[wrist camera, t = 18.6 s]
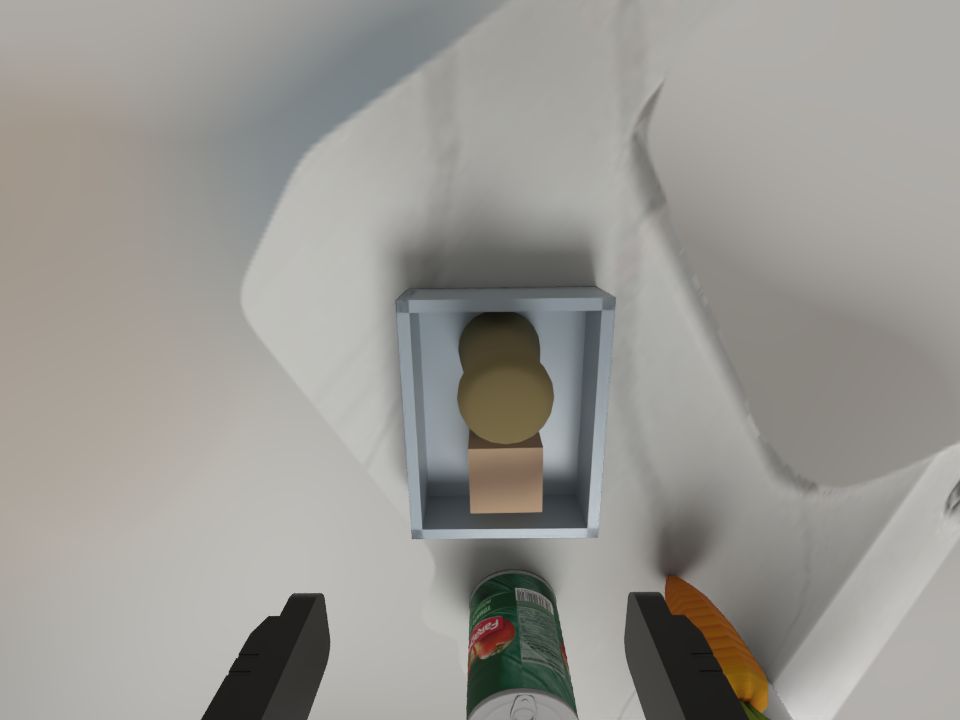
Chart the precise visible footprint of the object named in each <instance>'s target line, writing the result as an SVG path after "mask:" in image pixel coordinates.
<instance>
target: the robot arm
mask: <svg viewBox="0 0 960 720" xmlns="http://www.w3.org/2000/svg"><path fill="white" fill-rule="evenodd" d="M624 644H625V653H626V659H627V663H628V667H629V670H630V673H631V676H632V679H633V682H634V685H635V688H636V691H637V694H638V697H639V700H640V703H641V706H642V709H643V712H644V715H645V718H646V720H750V719H749V718H748V716H747V714H746V712H745V710H744V708H743V707H742V705H741V703H740V701H739V699H738V697H737V695H736V694H735V692H734V690H733V688H732V686H731V684H730V683H729V681H728V679H727V677H726V675H724V674H723V670H722V668H721V666H720V664H719V662H718V660H717V659H716V657H714V654H713V651H712V649H711V648H710V646H709V644H708V642H707V640H706V638H705V636H704V635H703V633H702V632H701V631H700V630H699V629H698V628H697V627H696V626H695V625H694V624H693V623H692V622H691V621H690V620H689V619H688V618H687V617H686V616H685V615H672V614H671V612H670V610H669V608H668V606H667V604H666V602H665V600H664V598H663V596H662V594H661V593H659V592H630V593H629V596H628V604H627V615H626V626H625V636H624ZM329 651H330V634H329V628H328V620H327V613H326V605H325V598H324V595H323V594H322V593H297V594H296V593H294V594H292V595H291V596H290V598H289V599H288V601H287V603H286V605H285V607H284V609H283V611H282V612H281V615H280V616H268V617H267V618H266V619H265V620H264V621H263V622H262V623H261V624H260V625H259V626H258V627H257V628H256V629H255V630H254V631H253V632H252V633H251V634H250V636H249V637H248V639H247V641H246V642H245V644H244V646H243V648H242V649H241V651H240V653H239V657H238V658H236V660H235V661H234V663H233V665H232V667H231V668H230V670H229V674H228V676H226V677H225V679H224V681H223V682H222V684H221V686H220V688H219V689H218V691H217V693H216V695H215V696H214V698H213V700H212V701H211V703H210V705H209V707H208V709H207V710H206V712H205V714H204V715H203V717H202V719H201V720H307V719H308V716H309V713H310V710H311V707H312V705H313V702H314V699H315V696H316V693H317V691H318V688H319V685H320V682H321V680H322V677H323V674H324V671H325V668H326V665H327V661H328V657H329ZM767 681H768V680H767ZM762 714H763V715H764V716H766V717H767V718H769V719H771V720H793V719H792V717H791V716H790V714H789V712H788V711H787V709H786V708H785V706H784V704H783V703H782V701H781V700H780V698H779V696H778V695H777V693H776V692H775V690H774V688H773V687H772V685H771V684H770V682H769V681H768V705H767V708H766V709H765V710H764V711H763V712H762Z"/></svg>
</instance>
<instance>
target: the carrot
mask: <svg viewBox="0 0 960 720" xmlns="http://www.w3.org/2000/svg"><path fill="white" fill-rule="evenodd" d="M665 602H666V604H667V606H668V608H669V610H670V612H671V614H672V615H685V616H686V617H687V618H688V619H689V620H690V621H691V622H692V623H693V624H694V625H695V626H696V627H697V628H698V629H699V630H700V631H701V632H702V633H703V635H704V636H705V638H706V640H707V642H708V644H709V646H710V648H711V649H712V651H713V654H714V657H716V659H717V660H718V662H719V664H720V666H721V668H722V670H723V674H724V675H726V677H727V679H728V681H729V683H730V684H731V686H732V688H733V690H734V692H735V694H736V695H737V697H738V699H739V701H740V703H741V705H742V707H743V708H744V710H745V712H746V714H747V716H748V718H749V719H750V720H771V719H769V718H767V717H766V716H764V715H763V714H762V712H763V711H764V710H765V709H766V708H767V705H768V681H767V678H766V676H765V674H764V672H763V670H762V669H761V667H760V666H759V664H758V663H757V661H756V660H755V658H754V657H753V655H752V654H751V652H750V651H749V649H748V647H747V646H746V645H745V643H744V642H743V640H742V639H741V637H740V636H739V635H738V633H737V632H736V630H735V629H734V627H733V626H732V625H731V623H730V622H729V621H728V620H727V619H726V618H725V617H724V615H723V614H722V613H721V612H720V611H719V610H718V609H717V608H716V606H715V605H714V604H713V603H712V602H711V601H710V600H709V599H708V598H707V597H706V596H705V595H704V594H702V593H701V592H700V591H699V590H697V589H696V588H695V587H693V586H692V585H690V584H689V583H687V582H686V581H684V580H682V579H681V578H679V577H677V576H676V575H670V576H669V577H668V578H667V579H666V585H665Z"/></svg>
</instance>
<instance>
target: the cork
mask: <svg viewBox="0 0 960 720" xmlns="http://www.w3.org/2000/svg"><path fill="white" fill-rule="evenodd" d="M458 352H459V357H460V362H461V365H462V369H463V372H464V373H463V375H462V377H461V379H460V381H459V386H458V394H457V402H458V406H459V411H460V414H461V416H462V417H463V419H464V421H465V422H466V424H467V426H468V428H470V429H471V430H472V431H473V432H474V433H475V434H476V435H478V436H479V437H481V438H483V439H485V440H487V441H490V442H492V443H500V444H511V443H518V442H522V441H524V440H526V439H528V438H530V437H532V436H534V435H535V434H536V433H537V432H538V431H539V430H540V429H542V428H543V427H544V425H545V424H546V422H547V420H548V418H549V417H550V415H551V411H552V406H553V402H554V390H553V383H552V381H551V379H550V377H549V375H548V373H547V371H546V369H545V367H544V366H543V365H542V364H541V363H540V343H539V336H538V334H537V332H536V330H535V329H534V327H533V325H532V324H531V323H530V322H529V321H528V320H527V319H526V318H525V317H524V316H522V315H520V314H518V313H516V312H484V313H482V314H480V315H478V316H476V317H474V318H473V319H472V320H471V321H470V322H469V323H468V324H467V325H466V326H465V328H464V330H463V332H462V335H461V337H460V340H459V348H458Z"/></svg>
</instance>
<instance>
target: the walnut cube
mask: <svg viewBox="0 0 960 720" xmlns="http://www.w3.org/2000/svg"><path fill="white" fill-rule="evenodd" d="M468 460H469V487H470V514H471V513H525V512H542V496H543V445H542V441H541V437H540V433H539V431H538V432H537V433H536V434H535V435H534V436H532V437H530V438H528V439H526V440H524V441H522V442H518V443H511V444H500V443H492V442H490V441H487V440H485V439H483V438H481V437H479V436H478V435H476V434H475V433H474V432H473V431H472V430H471V429H470V428H469V443H468Z"/></svg>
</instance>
